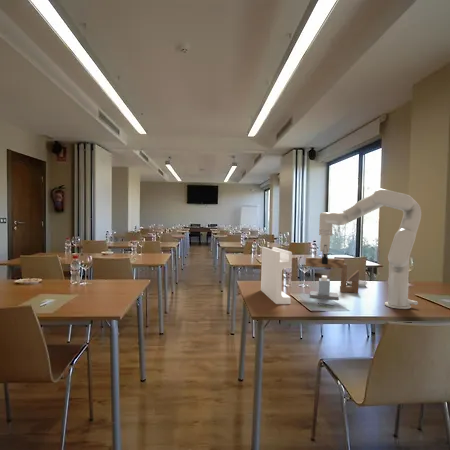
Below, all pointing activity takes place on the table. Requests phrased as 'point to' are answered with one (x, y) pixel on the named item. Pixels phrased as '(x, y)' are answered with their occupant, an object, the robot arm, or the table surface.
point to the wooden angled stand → (352, 278)
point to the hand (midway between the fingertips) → (324, 263)
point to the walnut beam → (331, 263)
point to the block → (274, 273)
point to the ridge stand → (324, 290)
